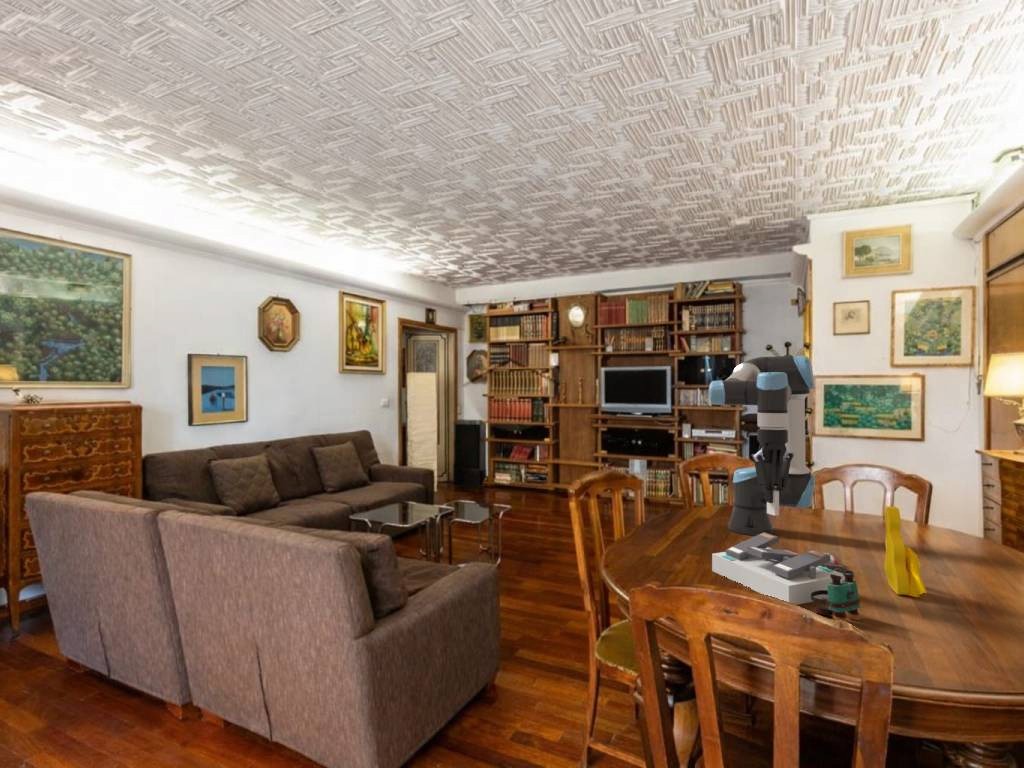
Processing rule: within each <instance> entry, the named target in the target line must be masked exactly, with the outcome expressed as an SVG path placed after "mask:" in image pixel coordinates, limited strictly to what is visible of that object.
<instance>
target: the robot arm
mask: <svg viewBox="0 0 1024 768" xmlns="http://www.w3.org/2000/svg"><path fill="white" fill-rule="evenodd" d="M814 388H815V381H814V371H813V367H812V362H811V360H810V358H809V357H808V356H806V355H794V354H793V355H780V356H779V355H777V356H759V357H755V358H751V359H748V360H746V361H743V362H741V363H739V364H738V365H736V367H734V369H733V371H732V373H731V374H730V375H729V377H727V378H726V379H725V380H722V379H720V380H712V381H711V382H710V383H709V389H708V398H709V401H710V403H711V404H712V405H716V406H757V409H756V410H757V411H756V412H757V420H756V421H757V424H756V425H757V427H758V429H757V430H756V431H757V432H756V434H757V435H756V437H757V438H756V439H757V442H758V443H759V447H758V451H757V452H756V453H752V454H751V459H752V461H753V463H754V466H753V467H743V468H738V469H736V470H734V472H733V480H732V483H733V484H732V485H733V486H732V487H733V509H732V511H731V515H730V519H729V520H728V529H729V530H730V531H732V532H734V533H737V534H741V535H748V536H757V535H759V534H761V533H763V532H765V533H768V534H771V535H773V534H774V525H773V523H772V521H771V517H770V515H772V516H774V517H775V516H776V517H777V516H779V515H780V506H782V507H791V508H795V509H797V508H800V509H801V508H802V509H809V508H810V507H811V506H812V502H813V498H814V491H815V483H816V476H815V475H813V474H812V473H811V469H810V468H809V467H808V466H807V465H806V416H805V415H806V407H805V403H806V401H805V399H806V398H807V397H808V396H809V395H810V390H813V389H814Z"/></svg>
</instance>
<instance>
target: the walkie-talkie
mask: <svg viewBox="0 0 1024 768" xmlns="http://www.w3.org/2000/svg"><path fill="white" fill-rule="evenodd" d="M824 553H825V554H828V555H830V559H831V561H830V562H828V563H825V564H823V565H820V566H822V567H825V568H828V569H831V570H834V571H836V572H839V573H842V574H843V572H844V571H846V567H845V566H844V564H843V563H842V562H841V560H840V559H839V558H838V556H836V555H834V554H831V553H827V552H824Z"/></svg>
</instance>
